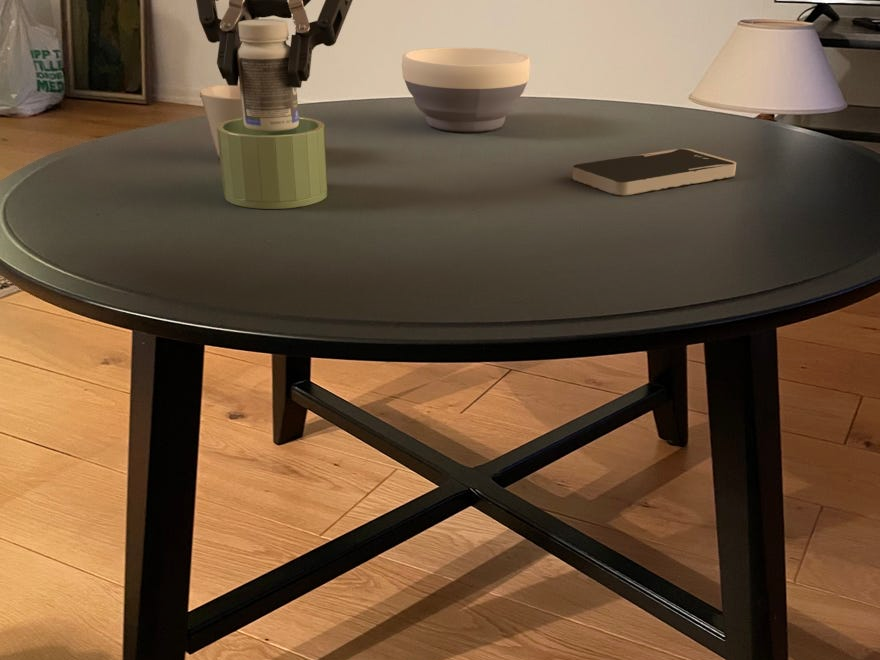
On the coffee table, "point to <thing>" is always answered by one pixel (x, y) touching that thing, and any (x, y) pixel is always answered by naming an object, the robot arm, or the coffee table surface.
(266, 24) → the pill bottle
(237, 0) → the robot arm
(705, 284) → the coffee table surface
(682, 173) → the smartphone
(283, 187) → the cup
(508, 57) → the bowl
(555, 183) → the coffee table surface
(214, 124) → the beige tapered pot
